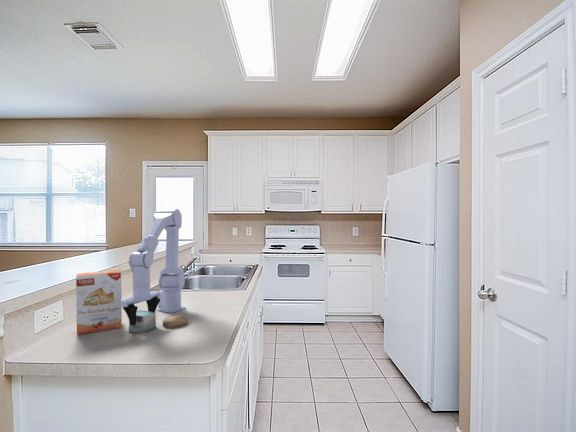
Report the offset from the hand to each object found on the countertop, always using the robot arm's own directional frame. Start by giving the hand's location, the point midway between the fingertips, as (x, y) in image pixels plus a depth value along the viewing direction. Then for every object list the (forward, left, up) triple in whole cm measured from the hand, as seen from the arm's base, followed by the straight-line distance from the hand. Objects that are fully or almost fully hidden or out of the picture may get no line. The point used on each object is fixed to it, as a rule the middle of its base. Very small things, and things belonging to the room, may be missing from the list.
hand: (142, 321), depth 115 cm
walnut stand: (+7, +9, -3) cm, 12 cm away
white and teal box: (0, 0, -1) cm, 1 cm away
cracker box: (-14, -7, -3) cm, 16 cm away
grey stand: (0, 0, -3) cm, 3 cm away
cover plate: (0, 0, +2) cm, 2 cm away
